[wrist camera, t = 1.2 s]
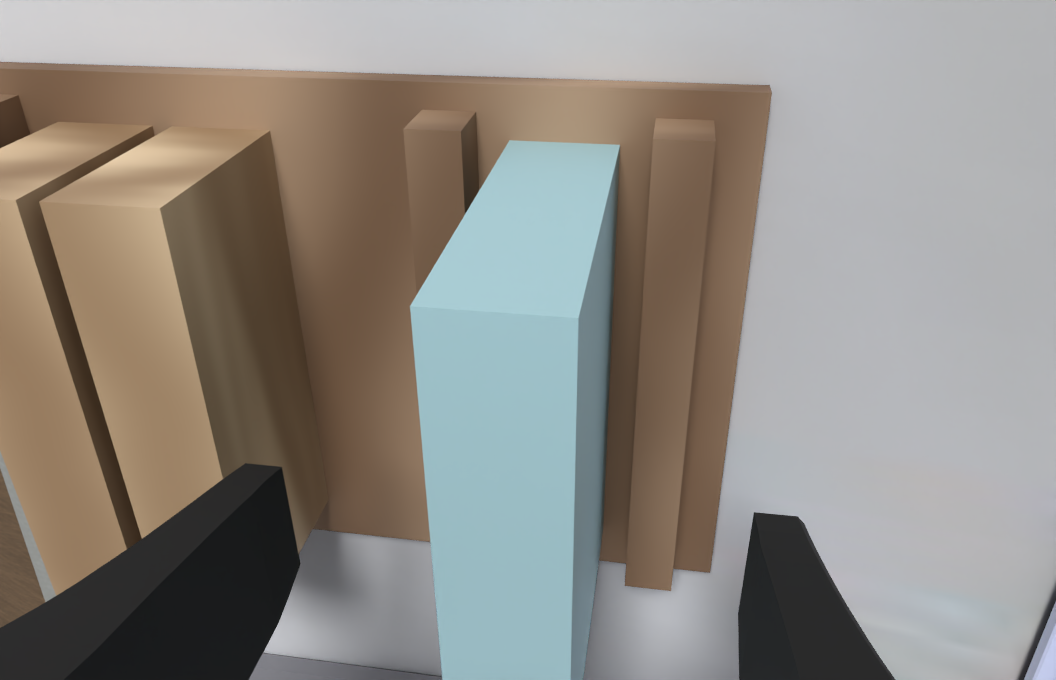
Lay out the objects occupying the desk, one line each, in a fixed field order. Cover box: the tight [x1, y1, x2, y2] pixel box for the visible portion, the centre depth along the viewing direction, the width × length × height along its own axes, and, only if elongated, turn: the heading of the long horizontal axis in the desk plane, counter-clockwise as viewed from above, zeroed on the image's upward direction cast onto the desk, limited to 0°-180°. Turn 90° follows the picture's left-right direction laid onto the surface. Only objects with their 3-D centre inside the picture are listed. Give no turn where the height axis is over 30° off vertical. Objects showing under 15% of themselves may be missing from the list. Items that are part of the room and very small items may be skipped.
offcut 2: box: [39, 126, 329, 554], centre depth 17 cm, size 2×9×4 cm, turn 1°
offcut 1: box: [0, 122, 155, 596], centre depth 18 cm, size 2×9×4 cm, turn 1°
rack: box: [0, 62, 772, 591], centre depth 18 cm, size 16×11×2 cm
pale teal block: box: [410, 140, 620, 680], centre depth 15 cm, size 2×9×6 cm, turn 1°
